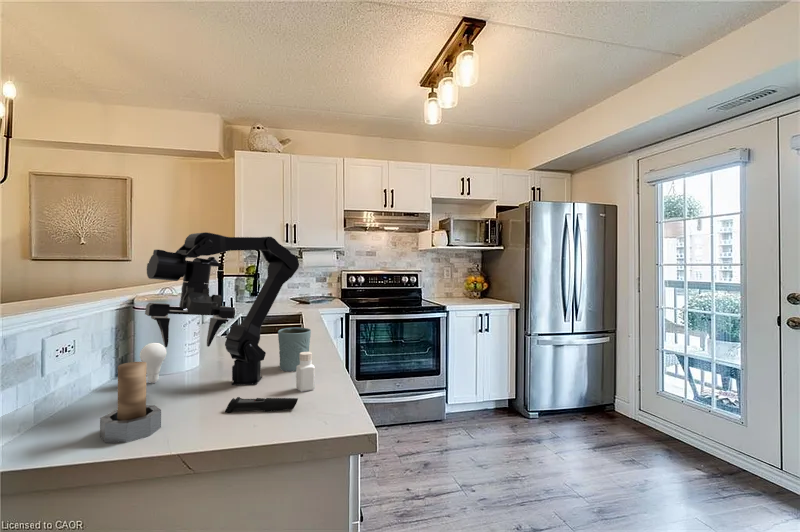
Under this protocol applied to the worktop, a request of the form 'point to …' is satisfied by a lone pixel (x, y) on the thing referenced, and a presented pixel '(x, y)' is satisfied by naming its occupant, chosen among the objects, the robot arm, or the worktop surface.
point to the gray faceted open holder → (130, 426)
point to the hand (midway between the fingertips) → (187, 346)
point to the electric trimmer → (261, 404)
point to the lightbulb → (153, 360)
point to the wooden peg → (131, 391)
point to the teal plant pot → (292, 346)
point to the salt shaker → (305, 373)
